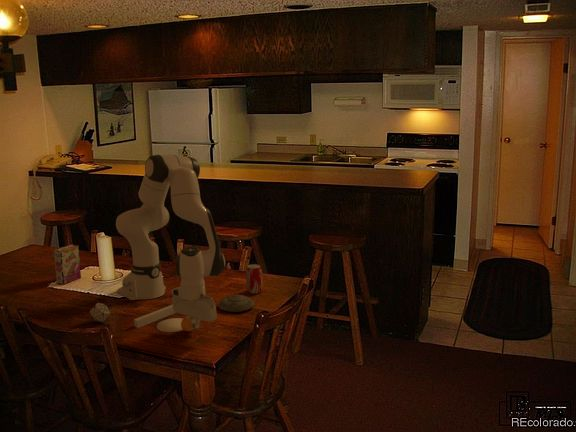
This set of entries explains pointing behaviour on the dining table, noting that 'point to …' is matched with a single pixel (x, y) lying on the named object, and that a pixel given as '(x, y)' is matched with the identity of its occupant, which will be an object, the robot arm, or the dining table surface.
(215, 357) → the dining table surface
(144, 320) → the bar
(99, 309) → the game die
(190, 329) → the ball
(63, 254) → the candy bar box
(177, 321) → the disc
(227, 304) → the flying saucer
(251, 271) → the soda can
